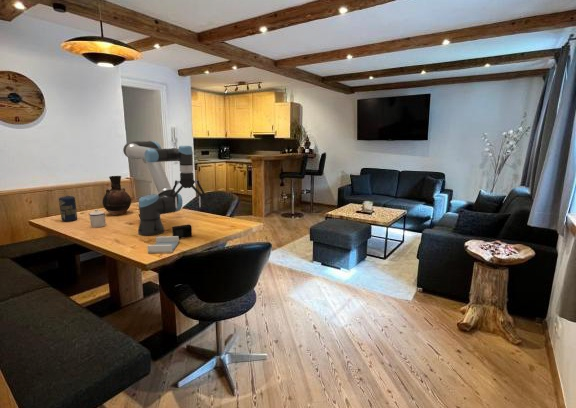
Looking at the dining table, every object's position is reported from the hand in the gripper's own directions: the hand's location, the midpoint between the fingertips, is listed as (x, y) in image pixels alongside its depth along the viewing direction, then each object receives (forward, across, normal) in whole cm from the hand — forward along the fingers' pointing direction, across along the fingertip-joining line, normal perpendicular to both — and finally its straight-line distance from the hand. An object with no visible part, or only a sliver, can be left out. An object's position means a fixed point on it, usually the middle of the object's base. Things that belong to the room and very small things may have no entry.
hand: (188, 207), depth 191 cm
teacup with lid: (+19, -61, +37) cm, 74 cm away
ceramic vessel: (+19, -55, +70) cm, 91 cm away
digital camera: (+18, -4, -3) cm, 19 cm away
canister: (+19, -84, +57) cm, 103 cm away
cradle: (+18, -13, -20) cm, 30 cm away
